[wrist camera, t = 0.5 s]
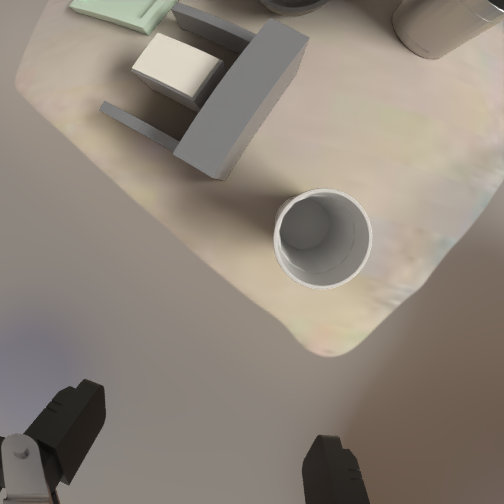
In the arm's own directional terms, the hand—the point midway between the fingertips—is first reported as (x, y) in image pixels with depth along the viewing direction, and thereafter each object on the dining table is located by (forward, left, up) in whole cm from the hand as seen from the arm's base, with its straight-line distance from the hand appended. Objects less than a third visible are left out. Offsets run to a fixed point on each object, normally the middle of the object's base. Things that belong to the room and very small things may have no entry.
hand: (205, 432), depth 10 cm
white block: (-14, -16, -27) cm, 35 cm away
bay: (-14, -15, -27) cm, 34 cm away
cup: (-7, +4, -27) cm, 29 cm away
